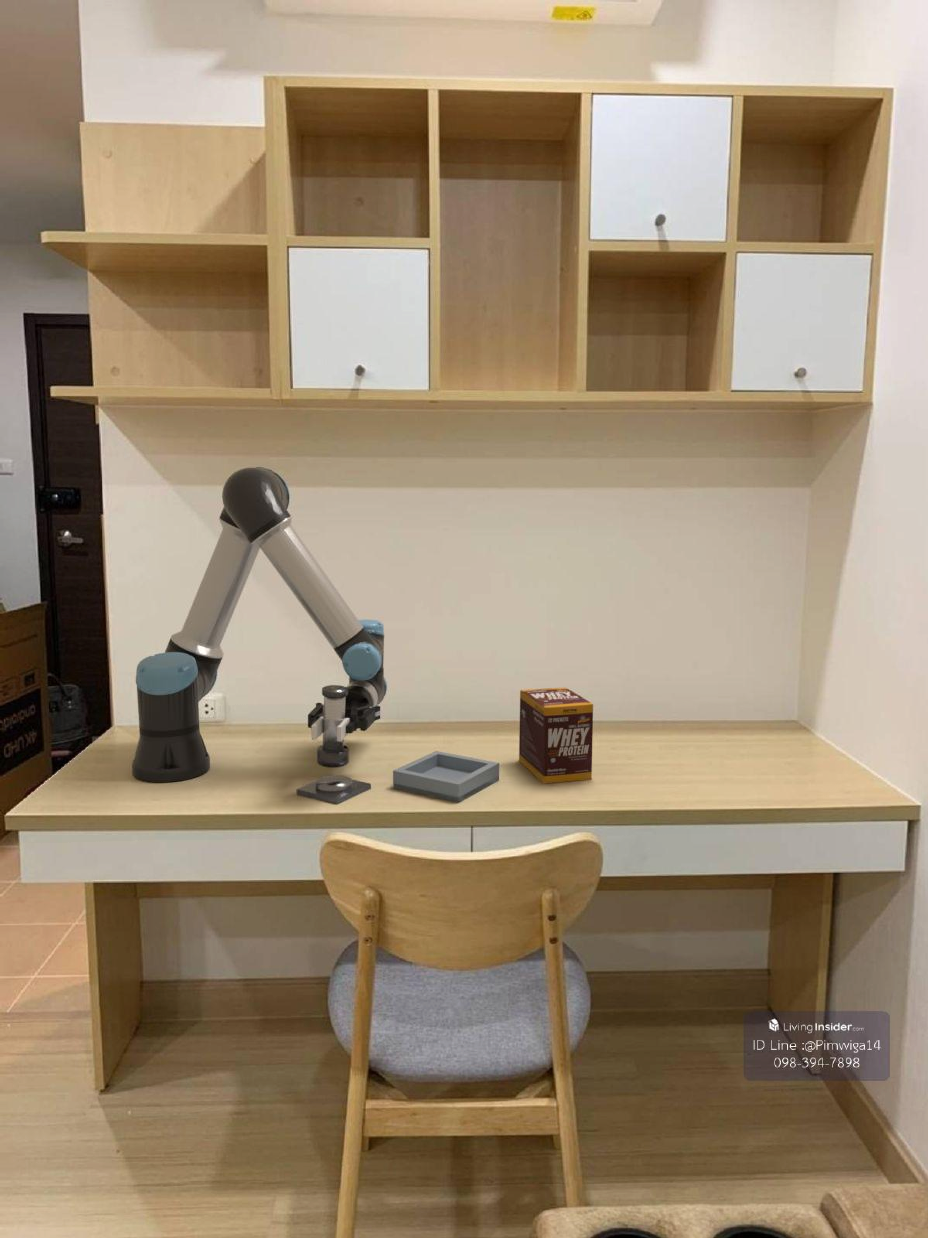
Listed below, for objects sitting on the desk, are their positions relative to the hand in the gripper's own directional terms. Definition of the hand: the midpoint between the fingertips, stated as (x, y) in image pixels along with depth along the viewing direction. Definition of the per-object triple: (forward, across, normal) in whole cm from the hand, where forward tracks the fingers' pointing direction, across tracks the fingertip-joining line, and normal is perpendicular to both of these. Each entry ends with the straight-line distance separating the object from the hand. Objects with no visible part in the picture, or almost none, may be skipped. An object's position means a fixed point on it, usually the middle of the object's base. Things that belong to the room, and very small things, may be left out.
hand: (326, 733), depth 170 cm
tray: (-12, -21, -12) cm, 27 cm away
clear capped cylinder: (-6, 0, -7) cm, 9 cm away
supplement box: (-23, -42, -12) cm, 49 cm away
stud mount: (-5, 0, -13) cm, 14 cm away
